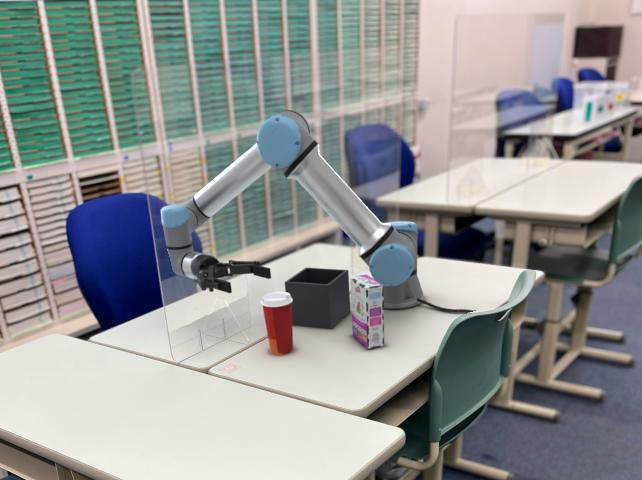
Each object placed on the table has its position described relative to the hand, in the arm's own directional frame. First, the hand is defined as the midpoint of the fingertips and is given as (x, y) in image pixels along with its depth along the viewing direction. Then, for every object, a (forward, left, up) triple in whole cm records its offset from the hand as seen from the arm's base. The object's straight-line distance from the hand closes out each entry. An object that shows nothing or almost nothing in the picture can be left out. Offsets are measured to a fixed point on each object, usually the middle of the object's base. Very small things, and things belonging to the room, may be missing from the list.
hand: (250, 280), depth 182 cm
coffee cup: (-9, +3, -18) cm, 20 cm away
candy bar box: (-29, -9, -18) cm, 35 cm away
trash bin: (-9, -21, -17) cm, 29 cm away
